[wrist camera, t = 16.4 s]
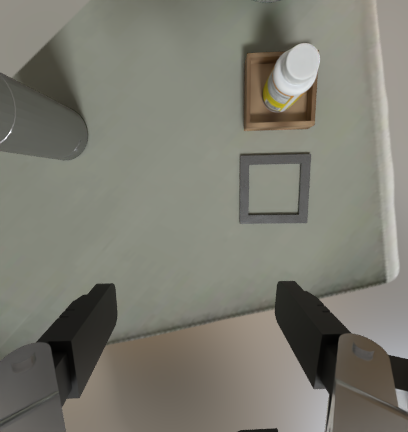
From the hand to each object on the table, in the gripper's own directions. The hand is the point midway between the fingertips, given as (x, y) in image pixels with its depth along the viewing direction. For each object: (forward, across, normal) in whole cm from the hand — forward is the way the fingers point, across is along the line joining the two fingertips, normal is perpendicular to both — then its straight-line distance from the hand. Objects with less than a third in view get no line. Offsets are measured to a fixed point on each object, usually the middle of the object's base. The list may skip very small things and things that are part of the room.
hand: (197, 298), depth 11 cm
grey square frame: (+28, -14, -3) cm, 32 cm away
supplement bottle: (+29, -14, -18) cm, 37 cm away
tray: (+29, -14, -18) cm, 37 cm away
